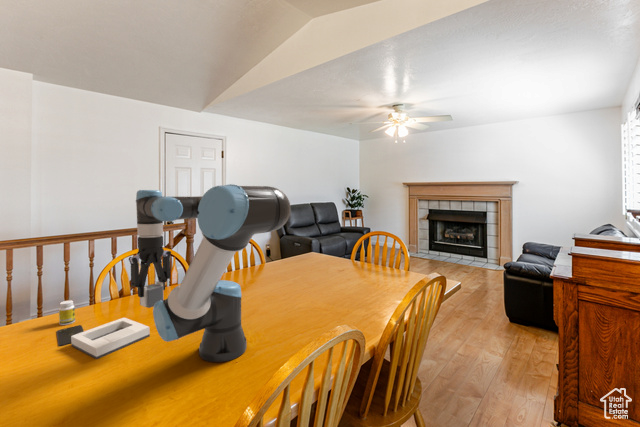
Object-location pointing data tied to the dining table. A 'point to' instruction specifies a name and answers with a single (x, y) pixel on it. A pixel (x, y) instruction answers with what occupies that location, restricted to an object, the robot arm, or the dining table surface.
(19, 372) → the dining table surface
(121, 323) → the white slotted tray
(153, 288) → the charger brick
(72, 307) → the supplement bottle
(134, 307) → the dining table surface
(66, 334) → the smartphone
